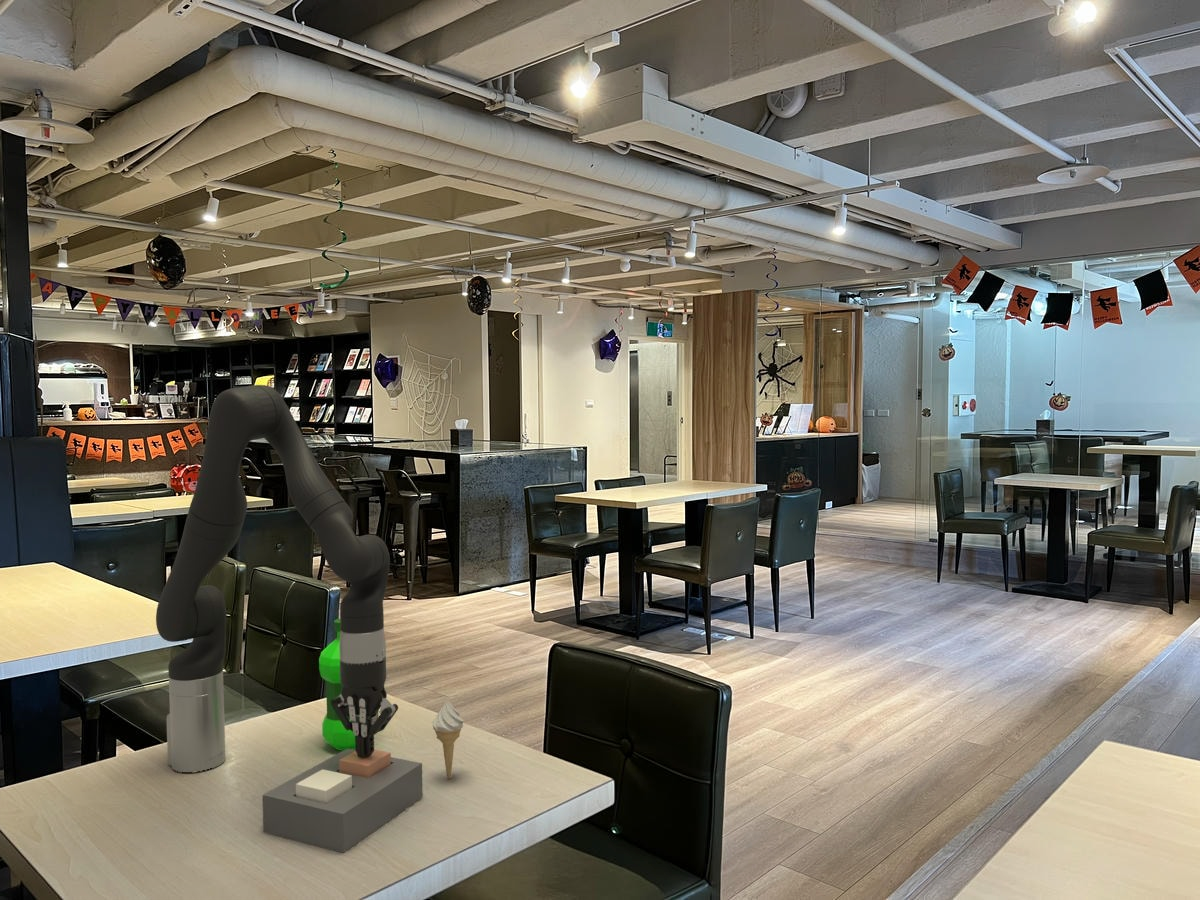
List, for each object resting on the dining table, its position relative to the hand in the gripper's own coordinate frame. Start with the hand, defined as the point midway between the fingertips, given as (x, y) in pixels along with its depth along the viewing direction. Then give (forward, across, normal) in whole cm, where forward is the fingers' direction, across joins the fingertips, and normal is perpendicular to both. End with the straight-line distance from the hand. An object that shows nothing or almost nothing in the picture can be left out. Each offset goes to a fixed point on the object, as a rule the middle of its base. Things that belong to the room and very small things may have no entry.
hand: (365, 755), depth 148 cm
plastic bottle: (+8, -19, +18) cm, 27 cm away
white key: (+3, 0, -10) cm, 10 cm away
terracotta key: (+3, 0, 0) cm, 3 cm away
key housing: (+8, 0, -5) cm, 9 cm away
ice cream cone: (+8, +8, +13) cm, 17 cm away
